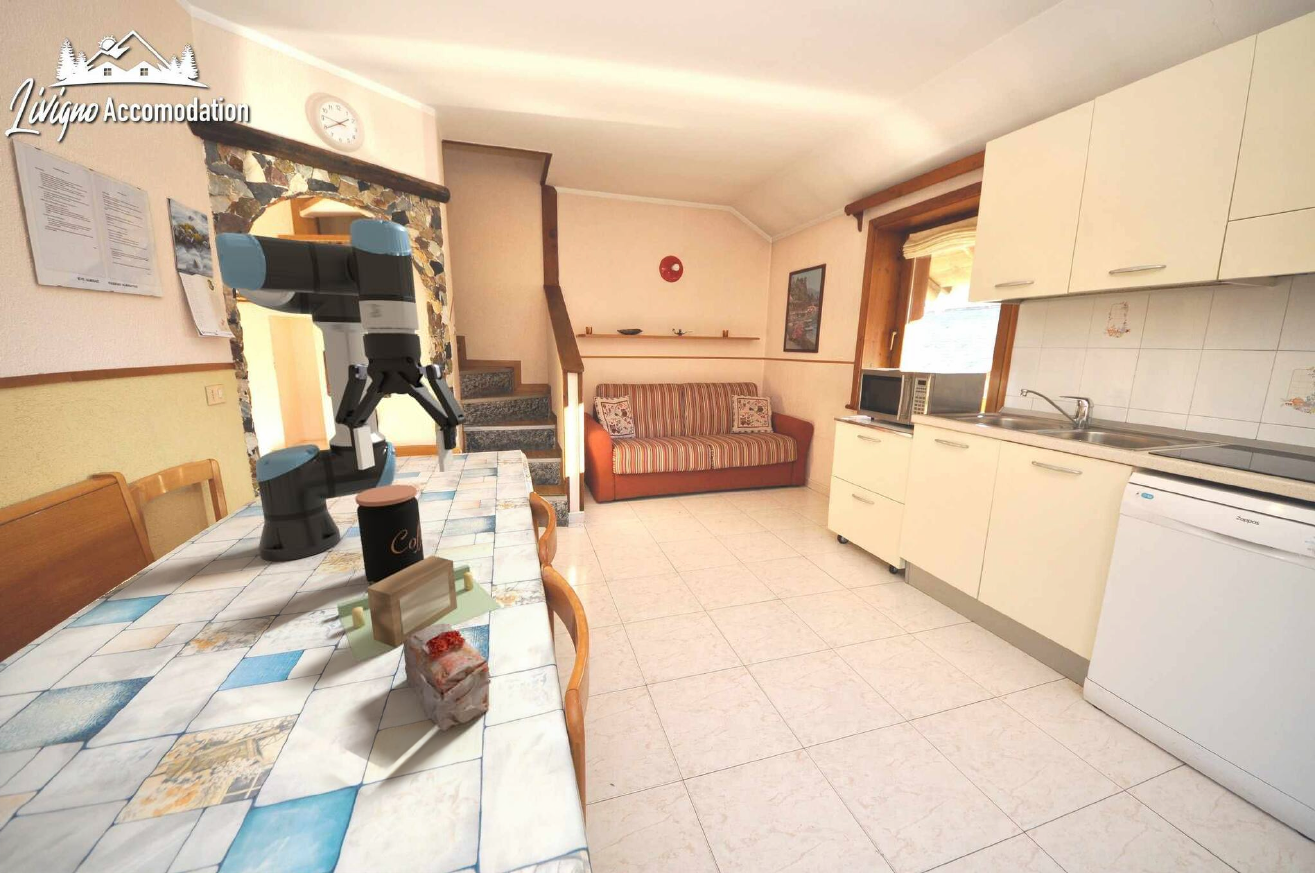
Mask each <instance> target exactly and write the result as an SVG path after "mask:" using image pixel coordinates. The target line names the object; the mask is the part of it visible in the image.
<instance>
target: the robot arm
mask: <svg viewBox="0 0 1315 873" xmlns="http://www.w3.org/2000/svg"><path fill="white" fill-rule="evenodd" d="M349 232H350V239H349V244H350V245H349V244H339V243H327V242H320V241H310V240H309V241H308V240H306V241H305V240H298V239H292V238H291V239H289V238H281V237H280V238H279V237H273V236H263V235H258V234H257V235H255V234H251V233H247V232H243V233H235V232H219V233H217V234H216V235H215V239H214V242H215V248H216V250H215V251H216V254H217V259H218V260H217V261H218V267H219V271H220V276H221V280H222V283H223V284H224V285H225V286H226V287H227V288H230V289H236V291H237V292H238V293H239V295H240V296H241V297H242V298H244V299H246V301H249V302H250V303H252V304H254V305H257V306H259V307H261V308H265V309H268V310H272V311H276V312H281V313H287V314H296V315H298V314H299V315H311V320H312V324H313V325H314V326H316V327H317V328H318V329H320V331H321V333H322V342H323V348H324V354H325V355H324V356H325V362H326V363H325V364H326V369H327V378H328V379H327V380H328V385H329V386H328V387H329V392H330V399H331V408H332V415H333V422H334V429H335V434H334V435H333V437H331V438H330V440H329V441H328V444H329V449H328V448H327V449H320V448H319V447H318V445H316V444H301V445H295V446H289V447H285V448H281V449H278V450H274V451H271V452H269V453H266V454H264V455H262V456H261V457H258V459H257V460H256V462H255V472H256V474H255V475H256V478H255V481H256V482H257V484H258V489H259V495H260V500H261V501H260V502H261V508H262V515H263V520H264V522H263V523H264V524H263V527H262V531H261V536H260V541H259V544H258V551H259V556H260V557H261V558H262V559H263V560H265V561H266V560H267V561H271V562H272V561H273V562H274V561H276V562H277V561H278V562H280V561H283V562H284V561H292V560H297V559H298V560H299V559H301V558H302V559H303V558H306V557H310V556H314V555H317V554H320V553H323V552H325V551H327V550H329V549H332V548H333V547H335V546H336V545H338V544H339V543H340V541H341V534H340V533H341V531H340V528H339V527H338V525H337V524H336V522H335V520H334V519H333V516H332V515H331V513H330V512H329V509H328V507H327V506H328V505H327V500H329V499H330V500H331V499H336V498H340V497H346V496H353V495H358V494H359V493H361V492H364V491H366V490H369V489H373V488H377V487H383V486H391V485H392V484H393V483H394V480H395V476H396V465H397V464H396V462H397V461H396V460H397V459H396V458H397V457H396V455H395V454H396V453H395V446H394V444H393V443H392V442H389V441H386V440H387V438H386V435H385V434H383V433H382V432H380V431H379V430H378V423H377V416H376V408H377V407H378V405H379V403H380V402H381V400H382V399H383V398H384V396H386V395H393V394H397V395H408V396H410V397H411V398H413V399H414V400H415V401H416V402H417V403H418V404H419V405H420V406H421V407H422V409H423V410H424V411H425V412H426V413H427V414H428V415H429V417H431V418H432V420H433V421H434V422H435V423H436V424H437V425H438V426H439V429H437V430H435V434H436V435H435V436H436V444H437V456H438V466H439V472H440V473H445V472H447V471H450V470H451V469H454V467H455V466H454V456H453V450H454V449H456V447H457V438H456V437H457V436H456V428H457V427H458V426H460V425H463V424H466V423H467V420H468V419H467V417H466V416H465V413H464V411H463V410H462V408H461V406H460V404H459V402H458V401H457V399H456V397H455V395H454V394H453V392H452V390H451V388H450V387H449V385H448V383H447V381H446V379H445V376H444V371H443V367H442V365H441V364H438V363H434V364H427V365H426V366H423V365H422V363H421V358H422V350H421V349H422V348H421V339H420V338H421V337H420V336H419V334H417V333H416V332H415V331H418V330H419V329H420V325H419V319H418V318H419V315H418V309H417V301H416V300H417V299H416V289H415V288H416V287H415V277H414V267H413V257H412V255H413V249H412V246H411V240H410V235H409V234H410V233H409V231H408V229H407V228H406V227H405V226H403V225H402V224H401V223H398V222H394V221H391V220H384V219H377V218H376V219H375V218H358V219H355V220H353V221H352V222H351V223H350V225H349ZM422 378H425V379H426V380H427V381H428V384H429V386H430V388H431V390H432V391H433V393H434V395H435V396H436V398H437V399H436V398H435V397H434V396H433V394H431V392H430V391H429V388H428V386H426V384H425V383H424V382H423V381H422Z"/></svg>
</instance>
